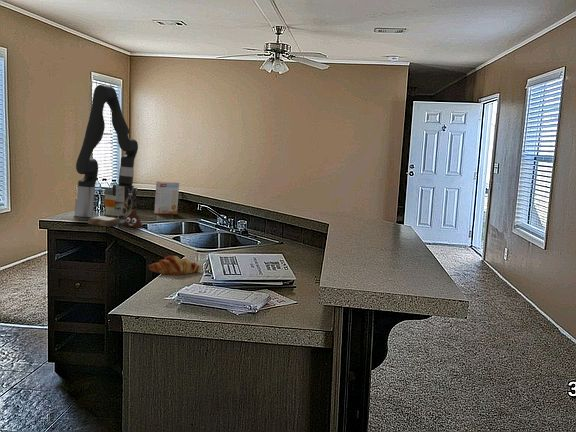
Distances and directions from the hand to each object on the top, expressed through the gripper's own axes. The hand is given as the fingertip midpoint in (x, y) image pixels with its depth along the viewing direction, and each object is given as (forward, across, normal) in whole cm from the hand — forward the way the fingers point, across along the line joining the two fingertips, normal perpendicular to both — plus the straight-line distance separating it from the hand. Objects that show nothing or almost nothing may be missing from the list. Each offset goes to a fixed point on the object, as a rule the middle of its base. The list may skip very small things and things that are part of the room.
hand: (123, 204), depth 330 cm
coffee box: (+6, 0, 0) cm, 6 cm away
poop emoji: (+10, +10, -8) cm, 17 cm away
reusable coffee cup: (+11, -18, +26) cm, 33 cm away
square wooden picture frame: (+10, -4, -12) cm, 16 cm away
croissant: (+8, +70, -96) cm, 119 cm away
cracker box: (+11, +2, +58) cm, 59 cm away
